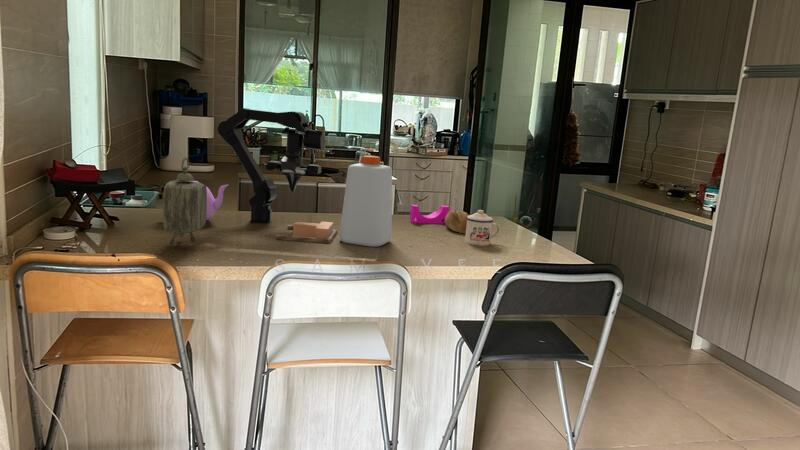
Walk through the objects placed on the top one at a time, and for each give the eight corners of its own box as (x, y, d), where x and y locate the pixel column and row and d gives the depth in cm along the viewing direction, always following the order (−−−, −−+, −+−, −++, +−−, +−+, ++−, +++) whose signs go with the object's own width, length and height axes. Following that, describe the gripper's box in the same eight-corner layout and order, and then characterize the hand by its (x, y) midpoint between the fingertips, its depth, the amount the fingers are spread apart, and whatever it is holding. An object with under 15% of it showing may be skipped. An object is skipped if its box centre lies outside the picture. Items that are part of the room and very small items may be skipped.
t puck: (290, 238, 194) (290, 226, 193) (297, 231, 205) (298, 219, 205) (327, 241, 193) (327, 229, 193) (332, 233, 205) (333, 222, 204)
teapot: (232, 218, 220) (233, 180, 217) (223, 226, 205) (224, 186, 202) (170, 214, 218) (170, 176, 215) (157, 222, 202) (157, 182, 200)
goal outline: (275, 239, 191) (276, 235, 190) (288, 228, 209) (288, 224, 209) (329, 243, 190) (329, 239, 190) (337, 232, 208) (337, 228, 208)
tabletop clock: (176, 235, 185) (177, 154, 180) (207, 237, 186) (208, 156, 181) (163, 246, 171) (163, 158, 166) (195, 248, 172) (196, 160, 167)
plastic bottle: (377, 248, 188) (384, 159, 183) (334, 242, 193) (339, 155, 188) (395, 240, 202) (401, 157, 197) (354, 234, 207) (359, 153, 202)
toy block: (442, 222, 244) (444, 204, 242) (447, 225, 238) (449, 207, 237) (407, 222, 239) (408, 203, 238) (412, 225, 234) (413, 206, 232)
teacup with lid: (467, 245, 203) (470, 211, 200) (461, 239, 212) (464, 207, 209) (501, 247, 204) (505, 213, 202) (494, 241, 213) (498, 209, 211)
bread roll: (451, 235, 219) (453, 213, 217) (439, 227, 233) (441, 207, 232) (476, 236, 221) (478, 214, 220) (463, 228, 235) (464, 207, 234)
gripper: (261, 146, 204) (259, 192, 206) (315, 151, 202) (312, 197, 205) (271, 145, 215) (269, 188, 217) (322, 149, 213) (320, 192, 216)
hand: (292, 191), depth 214 cm, fingers closed
